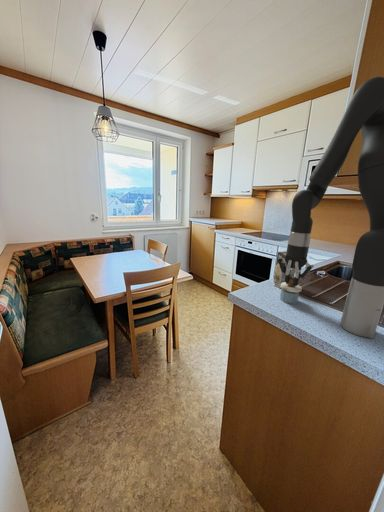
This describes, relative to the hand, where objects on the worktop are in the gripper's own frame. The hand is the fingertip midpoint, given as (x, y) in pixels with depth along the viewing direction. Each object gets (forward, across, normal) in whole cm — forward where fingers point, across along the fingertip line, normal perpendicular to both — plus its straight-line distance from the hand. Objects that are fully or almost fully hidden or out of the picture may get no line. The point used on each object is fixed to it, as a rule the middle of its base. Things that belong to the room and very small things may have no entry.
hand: (291, 284), depth 88 cm
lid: (+2, 0, 0) cm, 2 cm away
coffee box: (+7, +9, -14) cm, 18 cm away
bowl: (+7, 0, 0) cm, 7 cm away
